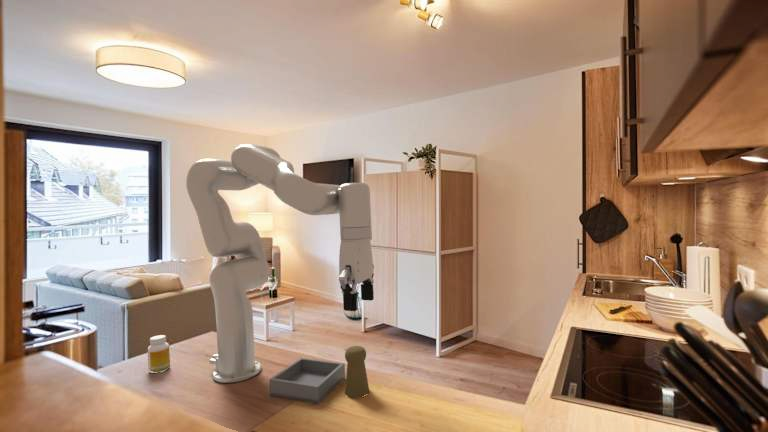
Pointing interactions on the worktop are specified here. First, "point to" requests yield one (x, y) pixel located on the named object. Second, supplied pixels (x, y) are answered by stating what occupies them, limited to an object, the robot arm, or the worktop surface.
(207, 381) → the worktop surface
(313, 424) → the worktop surface
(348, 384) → the cork
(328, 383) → the box
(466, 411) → the worktop surface
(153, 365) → the supplement bottle
